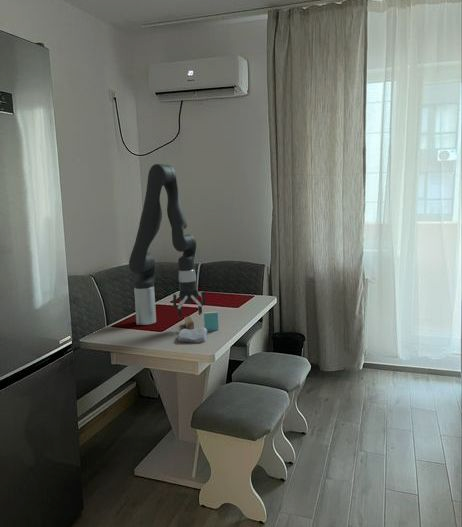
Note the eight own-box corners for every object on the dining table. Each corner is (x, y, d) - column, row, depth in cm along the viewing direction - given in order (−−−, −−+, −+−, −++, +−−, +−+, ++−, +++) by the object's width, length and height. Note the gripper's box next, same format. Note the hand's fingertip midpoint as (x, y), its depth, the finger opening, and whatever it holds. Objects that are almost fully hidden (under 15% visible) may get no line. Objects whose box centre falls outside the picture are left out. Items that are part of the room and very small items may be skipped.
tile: (204, 331, 198) (204, 313, 197) (204, 330, 200) (203, 312, 199) (218, 330, 199) (217, 312, 198) (217, 328, 201) (217, 311, 200)
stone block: (206, 347, 184) (208, 334, 193) (205, 336, 182) (207, 324, 191) (177, 348, 184) (180, 336, 193) (176, 338, 182) (179, 326, 192)
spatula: (186, 336, 193) (185, 328, 192) (182, 324, 210) (182, 317, 210) (197, 334, 194) (197, 327, 193) (193, 323, 211) (193, 316, 211)
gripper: (171, 282, 196) (174, 319, 198) (204, 279, 198) (207, 315, 201) (170, 280, 203) (173, 315, 205) (202, 277, 206) (204, 312, 208)
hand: (190, 315), depth 203 cm, fingers open, 8 cm apart
